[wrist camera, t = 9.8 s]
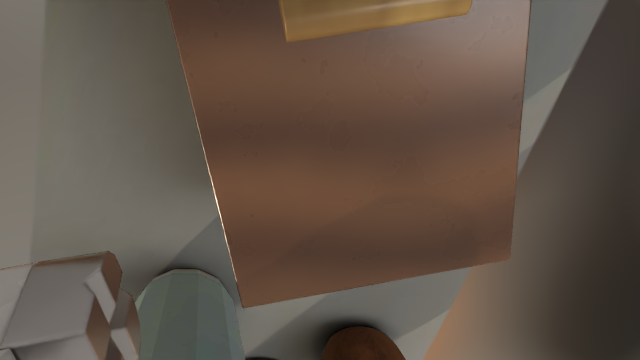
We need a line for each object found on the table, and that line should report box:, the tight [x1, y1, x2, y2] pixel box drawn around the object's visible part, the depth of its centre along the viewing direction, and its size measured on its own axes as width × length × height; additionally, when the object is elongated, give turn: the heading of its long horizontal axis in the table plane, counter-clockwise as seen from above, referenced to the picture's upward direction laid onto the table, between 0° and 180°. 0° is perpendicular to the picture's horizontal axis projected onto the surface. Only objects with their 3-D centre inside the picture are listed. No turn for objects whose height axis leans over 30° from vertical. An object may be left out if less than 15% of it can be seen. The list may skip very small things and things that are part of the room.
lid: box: [166, 0, 531, 308], centre depth 24 cm, size 18×14×5 cm
